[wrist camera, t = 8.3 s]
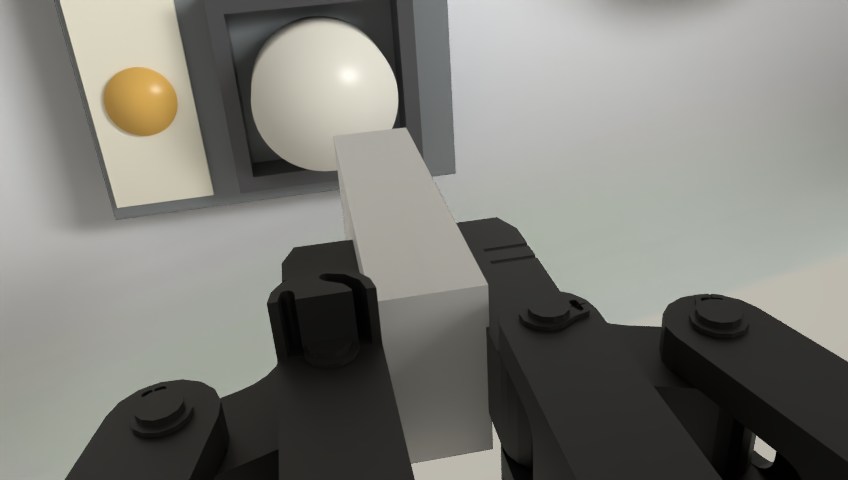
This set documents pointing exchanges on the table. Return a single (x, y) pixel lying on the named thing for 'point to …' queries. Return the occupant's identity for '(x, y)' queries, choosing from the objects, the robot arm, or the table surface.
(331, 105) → the button
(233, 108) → the button board
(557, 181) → the table surface
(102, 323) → the table surface
